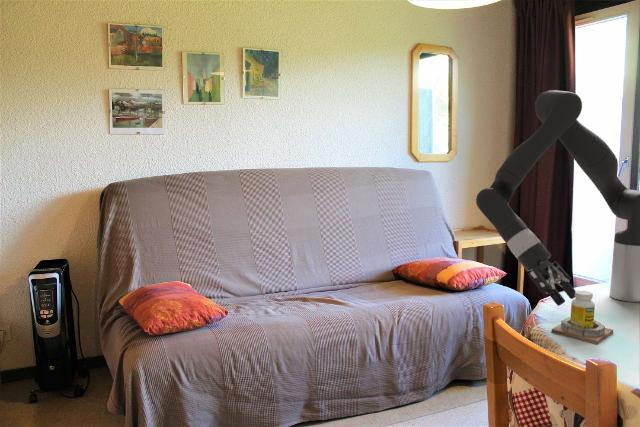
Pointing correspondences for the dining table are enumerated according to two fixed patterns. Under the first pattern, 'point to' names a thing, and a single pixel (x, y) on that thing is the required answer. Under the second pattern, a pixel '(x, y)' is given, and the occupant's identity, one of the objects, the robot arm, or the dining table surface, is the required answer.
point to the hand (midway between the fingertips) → (568, 300)
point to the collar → (583, 331)
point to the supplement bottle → (582, 310)
